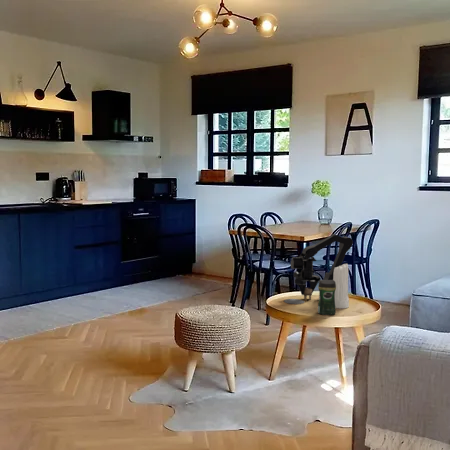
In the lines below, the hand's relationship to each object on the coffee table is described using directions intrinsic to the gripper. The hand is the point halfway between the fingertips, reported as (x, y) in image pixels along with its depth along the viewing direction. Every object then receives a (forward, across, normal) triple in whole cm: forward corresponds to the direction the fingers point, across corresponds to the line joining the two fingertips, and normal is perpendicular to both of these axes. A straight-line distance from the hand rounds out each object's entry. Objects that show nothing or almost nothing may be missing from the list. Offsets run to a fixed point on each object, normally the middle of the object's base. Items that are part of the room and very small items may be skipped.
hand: (307, 293), depth 337 cm
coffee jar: (+4, +20, +28) cm, 35 cm away
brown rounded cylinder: (+3, 0, 0) cm, 3 cm away
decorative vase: (+4, 0, +23) cm, 23 cm away
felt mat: (+3, +11, -1) cm, 12 cm away
